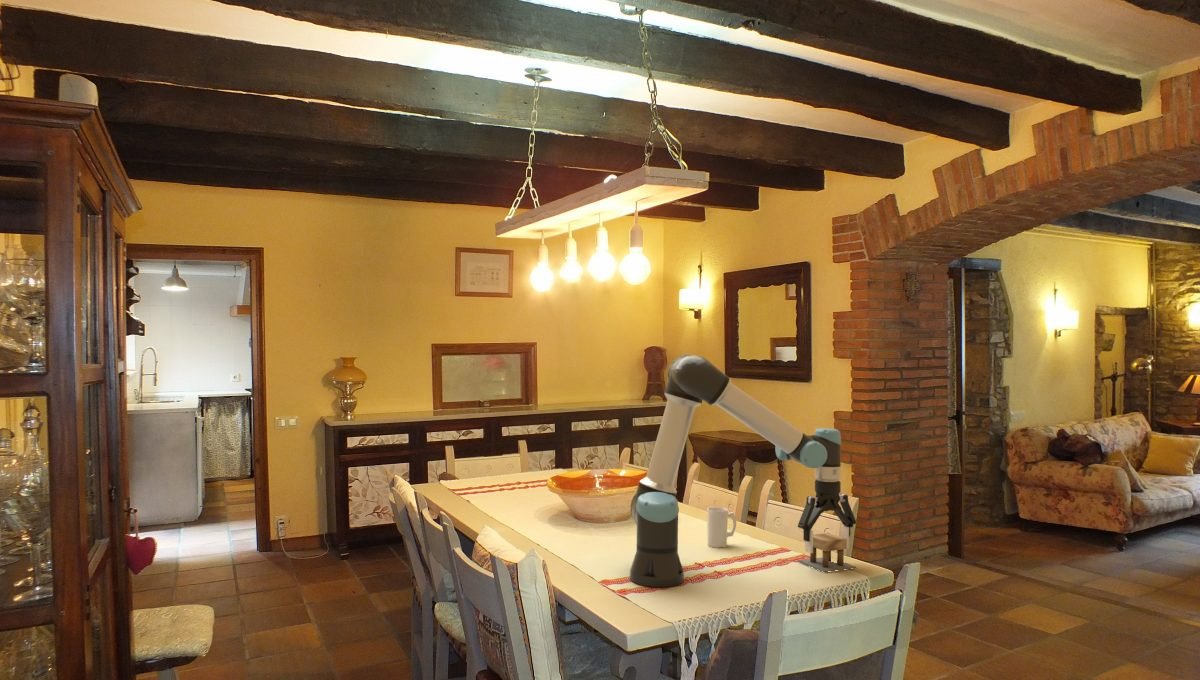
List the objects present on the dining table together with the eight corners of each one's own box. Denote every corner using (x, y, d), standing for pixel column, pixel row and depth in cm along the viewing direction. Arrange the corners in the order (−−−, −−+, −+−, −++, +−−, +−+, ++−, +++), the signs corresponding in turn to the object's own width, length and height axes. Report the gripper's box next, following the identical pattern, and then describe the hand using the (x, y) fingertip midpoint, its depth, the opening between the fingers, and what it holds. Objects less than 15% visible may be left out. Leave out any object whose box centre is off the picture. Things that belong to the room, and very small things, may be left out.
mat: (824, 572, 223) (824, 570, 223) (798, 562, 234) (798, 560, 234) (856, 568, 227) (856, 566, 227) (829, 558, 238) (829, 556, 238)
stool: (824, 568, 225) (825, 541, 225) (807, 561, 233) (807, 535, 233) (846, 565, 228) (846, 538, 228) (828, 558, 236) (828, 532, 236)
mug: (710, 548, 249) (711, 511, 249) (704, 543, 255) (704, 507, 256) (739, 547, 251) (740, 510, 251) (732, 542, 257) (732, 506, 258)
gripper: (802, 484, 222) (801, 556, 222) (868, 479, 232) (867, 549, 232) (786, 479, 229) (785, 550, 229) (851, 475, 239) (850, 543, 239)
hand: (827, 549), depth 231 cm, fingers open, 13 cm apart
